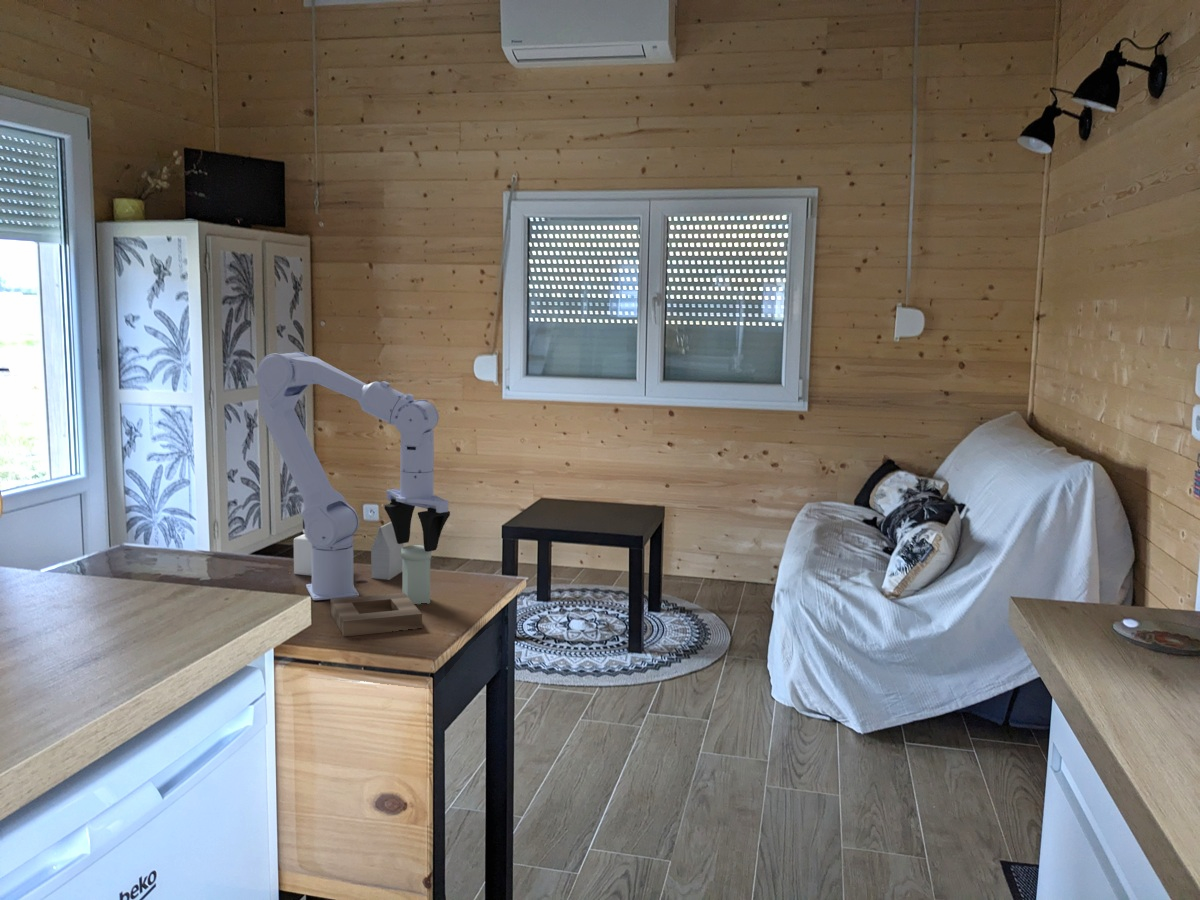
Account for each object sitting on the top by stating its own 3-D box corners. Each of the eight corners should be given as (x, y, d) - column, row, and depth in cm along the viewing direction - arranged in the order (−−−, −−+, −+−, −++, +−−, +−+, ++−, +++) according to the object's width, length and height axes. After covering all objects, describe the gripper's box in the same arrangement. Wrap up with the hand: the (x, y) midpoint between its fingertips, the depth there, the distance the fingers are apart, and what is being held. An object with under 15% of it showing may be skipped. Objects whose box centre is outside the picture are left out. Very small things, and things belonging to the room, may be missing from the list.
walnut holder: (330, 613, 167) (330, 599, 167) (404, 606, 172) (404, 592, 172) (343, 636, 156) (343, 621, 156) (421, 628, 161) (422, 613, 161)
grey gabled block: (403, 570, 196) (403, 521, 194) (389, 579, 189) (389, 528, 188) (385, 569, 196) (385, 519, 195) (371, 578, 190) (371, 527, 188)
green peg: (398, 598, 177) (398, 546, 176) (426, 595, 179) (427, 544, 178) (404, 606, 172) (405, 553, 171) (434, 603, 175) (434, 551, 173)
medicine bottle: (327, 577, 189) (327, 515, 187) (293, 574, 190) (292, 513, 189) (344, 568, 196) (344, 508, 194) (311, 565, 197) (310, 506, 196)
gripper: (372, 467, 174) (372, 543, 176) (425, 478, 165) (425, 558, 167) (404, 463, 180) (404, 536, 181) (458, 473, 170) (457, 551, 172)
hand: (416, 546), depth 175 cm, fingers open, 7 cm apart
